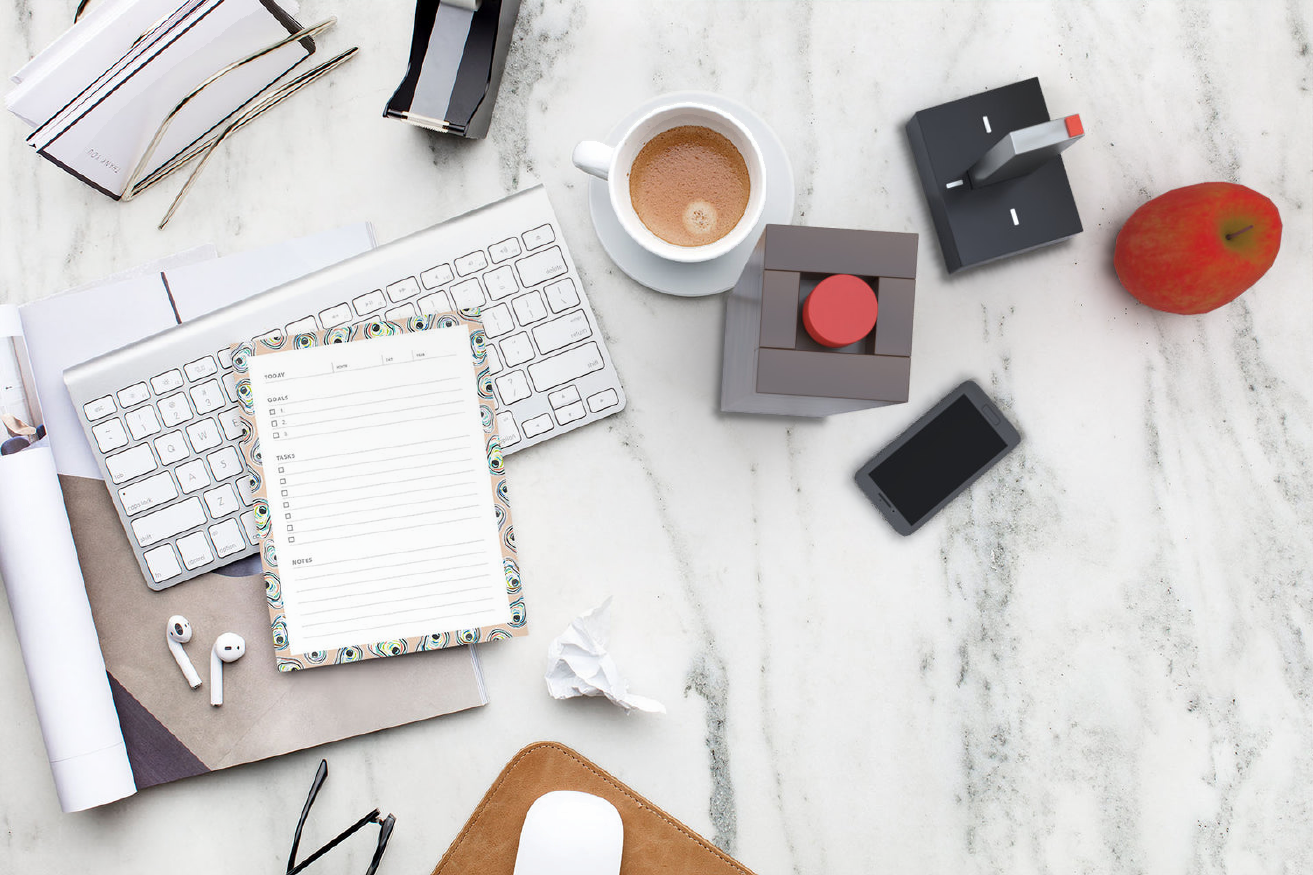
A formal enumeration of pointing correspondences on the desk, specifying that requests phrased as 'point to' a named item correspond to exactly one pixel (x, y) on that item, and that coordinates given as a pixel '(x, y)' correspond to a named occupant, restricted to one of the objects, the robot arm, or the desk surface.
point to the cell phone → (937, 458)
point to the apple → (1197, 247)
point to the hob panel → (999, 211)
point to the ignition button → (840, 311)
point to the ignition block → (778, 345)
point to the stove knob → (1025, 150)
